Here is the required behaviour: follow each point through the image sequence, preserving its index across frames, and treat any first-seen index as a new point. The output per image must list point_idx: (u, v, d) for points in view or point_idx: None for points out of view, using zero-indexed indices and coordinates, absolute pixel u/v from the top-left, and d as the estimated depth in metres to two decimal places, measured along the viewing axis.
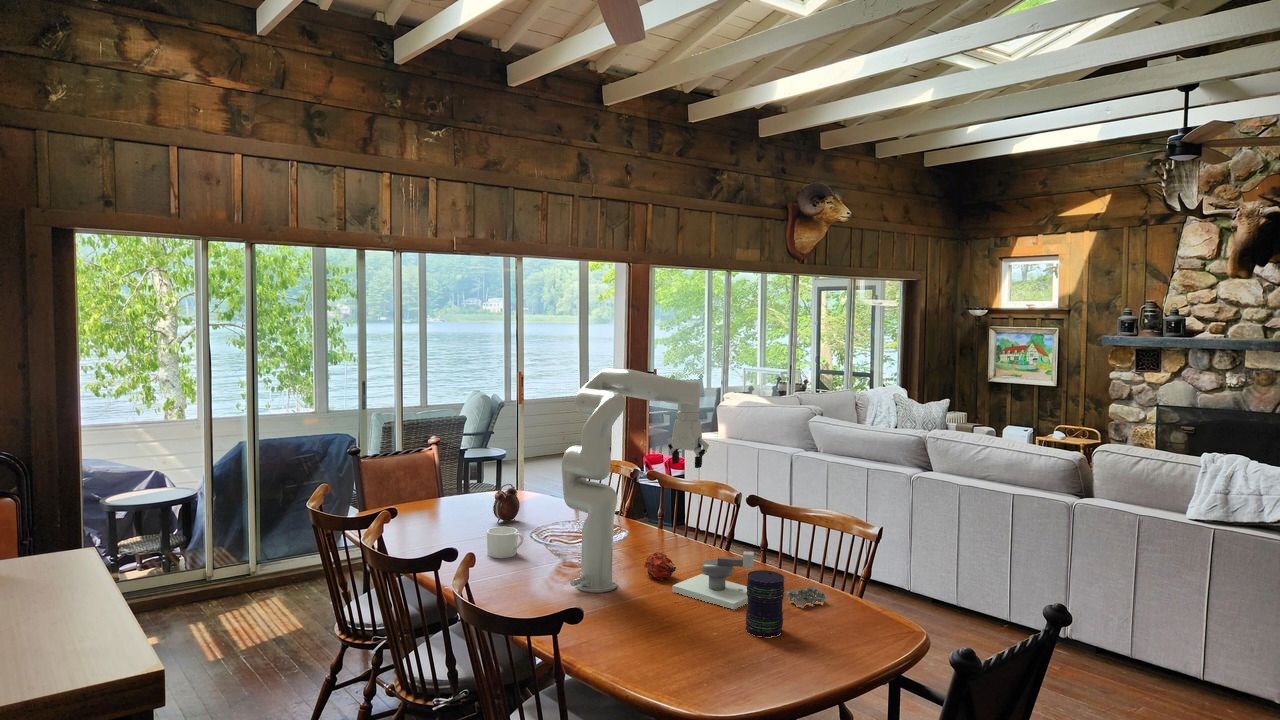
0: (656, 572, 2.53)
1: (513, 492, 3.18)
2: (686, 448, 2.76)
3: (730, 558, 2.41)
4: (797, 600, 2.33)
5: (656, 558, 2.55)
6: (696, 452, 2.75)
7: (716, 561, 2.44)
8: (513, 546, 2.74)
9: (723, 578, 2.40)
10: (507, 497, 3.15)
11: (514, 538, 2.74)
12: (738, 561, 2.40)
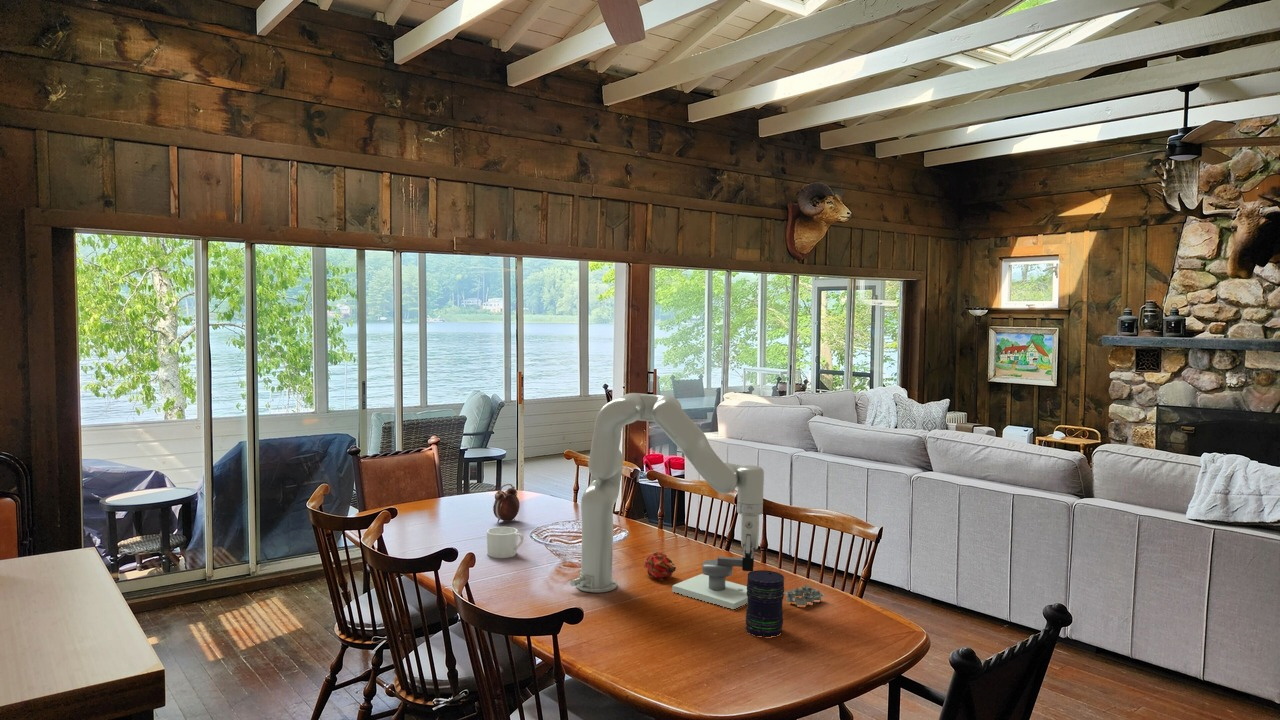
0: (656, 572, 2.53)
1: (513, 492, 3.18)
2: None
3: (730, 558, 2.41)
4: (799, 600, 2.33)
5: (656, 558, 2.55)
6: None
7: (716, 561, 2.44)
8: (513, 546, 2.74)
9: (723, 578, 2.40)
10: (507, 497, 3.15)
11: (514, 538, 2.74)
12: (738, 561, 2.40)
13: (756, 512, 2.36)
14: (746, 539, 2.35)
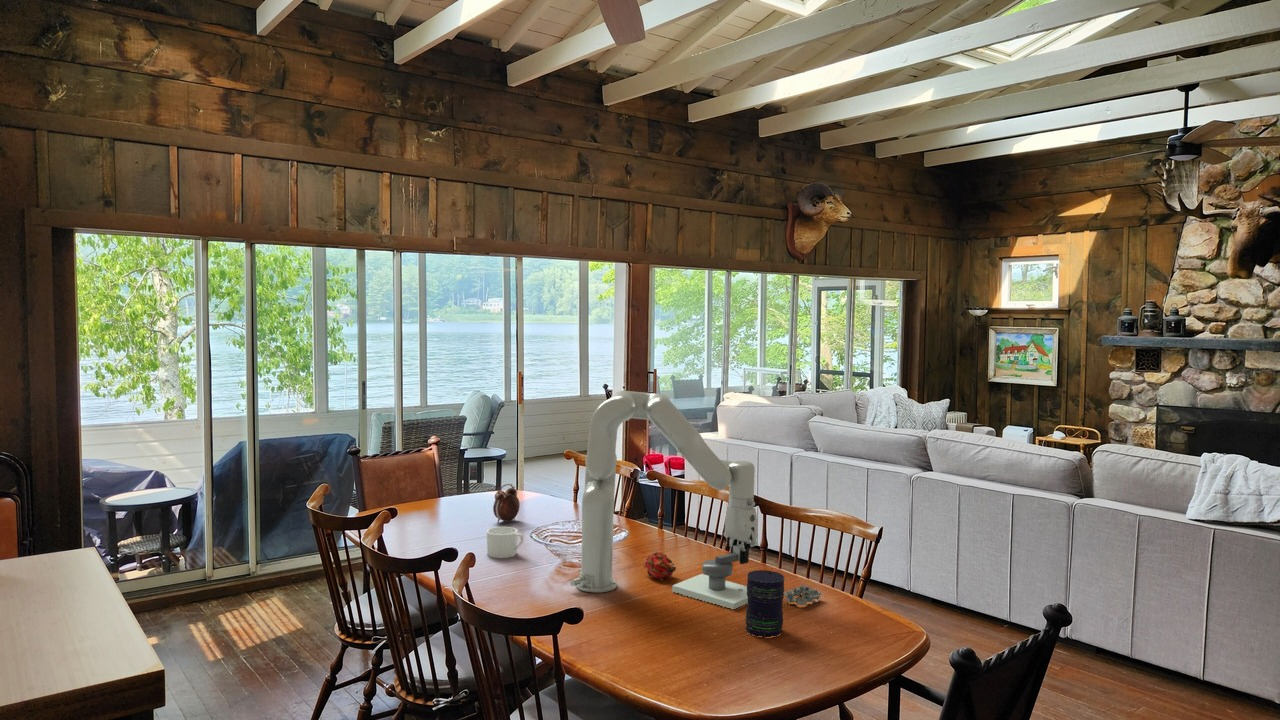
0: (656, 572, 2.53)
1: (513, 492, 3.18)
2: None
3: (727, 555, 2.44)
4: (800, 600, 2.33)
5: (656, 558, 2.55)
6: None
7: (711, 562, 2.43)
8: (513, 546, 2.74)
9: (723, 578, 2.40)
10: (507, 497, 3.15)
11: (514, 538, 2.74)
12: (735, 556, 2.45)
13: None
14: (751, 532, 2.42)
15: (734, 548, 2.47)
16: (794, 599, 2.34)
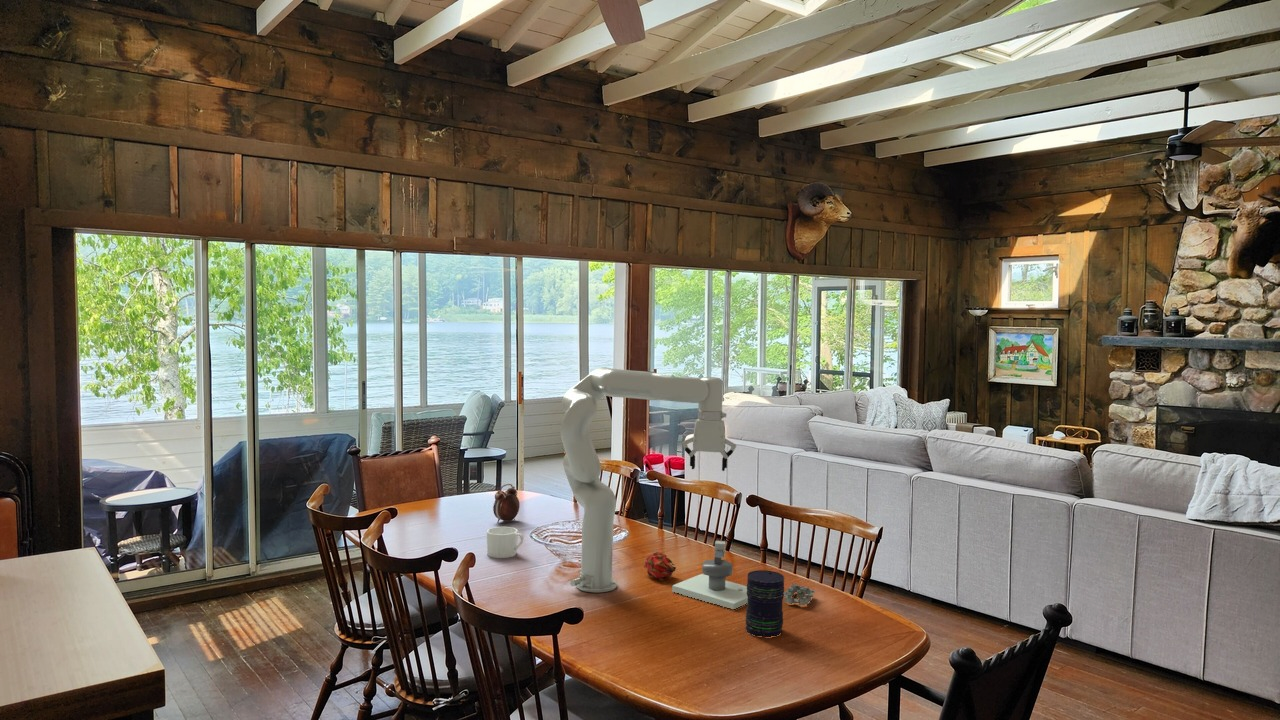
0: (656, 572, 2.53)
1: (513, 492, 3.18)
2: None
3: (719, 553, 2.45)
4: (802, 600, 2.33)
5: (656, 558, 2.55)
6: None
7: (709, 563, 2.42)
8: (513, 546, 2.74)
9: (723, 578, 2.40)
10: (507, 497, 3.15)
11: (514, 538, 2.74)
12: (722, 553, 2.48)
13: None
14: (724, 442, 2.56)
15: (717, 545, 2.49)
16: (796, 600, 2.34)
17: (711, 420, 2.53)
